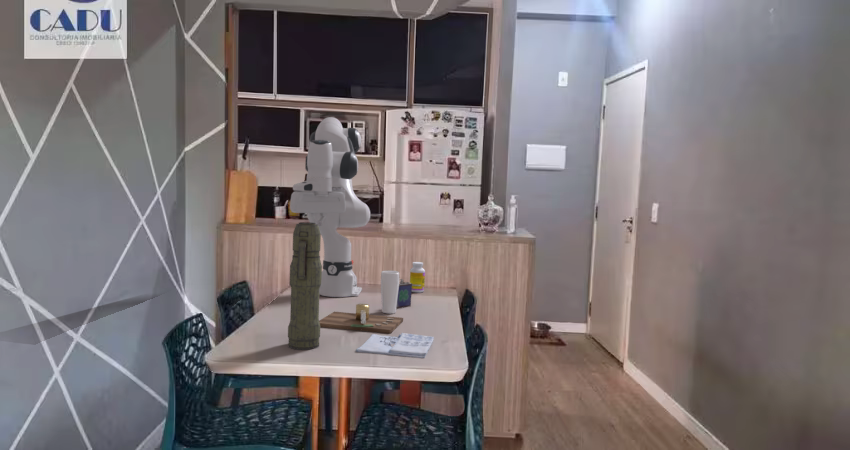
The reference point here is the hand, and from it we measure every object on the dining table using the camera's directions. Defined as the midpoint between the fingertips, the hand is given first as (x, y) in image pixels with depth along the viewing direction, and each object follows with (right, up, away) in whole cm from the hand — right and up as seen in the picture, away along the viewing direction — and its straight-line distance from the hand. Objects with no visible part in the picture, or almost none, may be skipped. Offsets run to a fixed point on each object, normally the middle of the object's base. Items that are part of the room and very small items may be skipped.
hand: (318, 225), depth 197 cm
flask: (+28, -31, +19) cm, 46 cm away
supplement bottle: (+34, -29, +51) cm, 68 cm away
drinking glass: (+24, -32, +8) cm, 41 cm away
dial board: (+16, -33, -10) cm, 38 cm away
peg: (+17, -32, -12) cm, 38 cm away
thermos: (+3, -34, -37) cm, 51 cm away
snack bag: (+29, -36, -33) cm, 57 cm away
